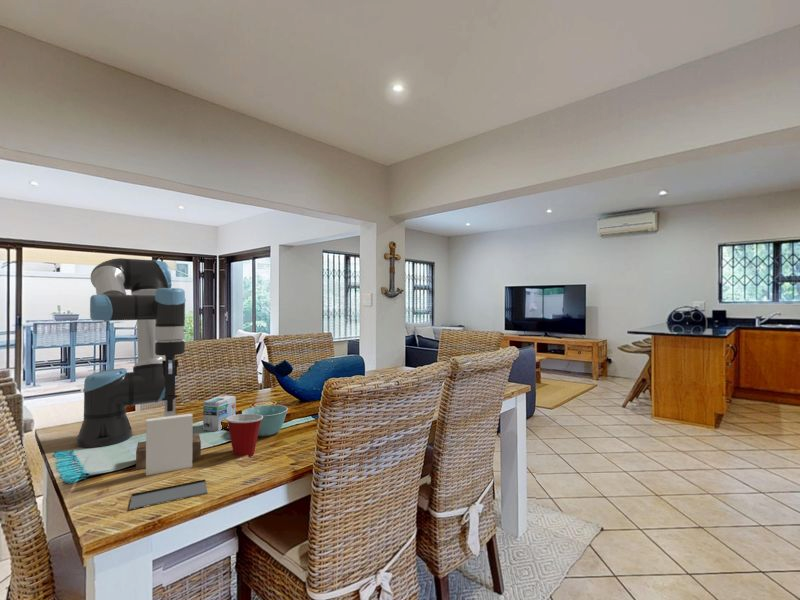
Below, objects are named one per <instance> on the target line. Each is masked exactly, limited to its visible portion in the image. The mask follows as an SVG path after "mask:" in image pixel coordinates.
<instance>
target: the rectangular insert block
mask: <svg viewBox="0 0 800 600" xmlns="http://www.w3.org/2000/svg"><path fill="white" fill-rule="evenodd" d="M193 416H194V415H193V413H184V414H177V415H176V414H175V416H167V417H164V416H161V417H153V418H152V417H151V418H146V420H145V427H146V428H145V441H146V468H145V476H151V475H152V476H153V475H157V474H163V473H167V472H172V471H173V472H175V471H178V470H184V469H189V468H193V460H192V437H193V434H194V432H193V428H194V427H193V424H194V423H193V418H194V417H193Z"/></svg>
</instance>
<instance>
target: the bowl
mask: <svg viewBox="0 0 800 600" xmlns="http://www.w3.org/2000/svg"><path fill="white" fill-rule="evenodd" d="M288 411H289V408H288V407H287V406H285V405H280V404H264V405H263V404H262V405H256V406H253V407H248V408H245V409H244V410H242V412H241V414H258V415H262V416H263V419H262V420H261V423H260V426H259V431H258V437H269V436H273V435H275V434H278V432H280V431H281V430H282V428H283V425H284V422H285V419H286V415H287V413H288Z"/></svg>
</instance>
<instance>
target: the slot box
mask: <svg viewBox="0 0 800 600" xmlns="http://www.w3.org/2000/svg"><path fill="white" fill-rule="evenodd" d="M201 448H202V441H201V437H200V433H198V432H197V433H193V437H192V461H194V460H199V459H202V456H201V455H202V454H201V453H202V451H201ZM135 450H136V451H135V470H136V471H137V470H141V469H146V440H145V441H138V442H137V445H136V449H135Z"/></svg>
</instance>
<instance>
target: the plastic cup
mask: <svg viewBox="0 0 800 600" xmlns="http://www.w3.org/2000/svg"><path fill="white" fill-rule="evenodd" d="M262 419H263V416H262V415H258V414H242V413H238V414H235V415H232V416H228V417H227V418H226V420H227V422H228V426H229V427H228V430H229V436H230V443H231V447H232V453H233V455H234V456H237V457H242V456H243V457H245V456H247V457H248V458H251V457H252V456H254V454H255V451H256V444H257V441H258V437H259V436H258V431H259V426H260V423H261V420H262Z"/></svg>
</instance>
